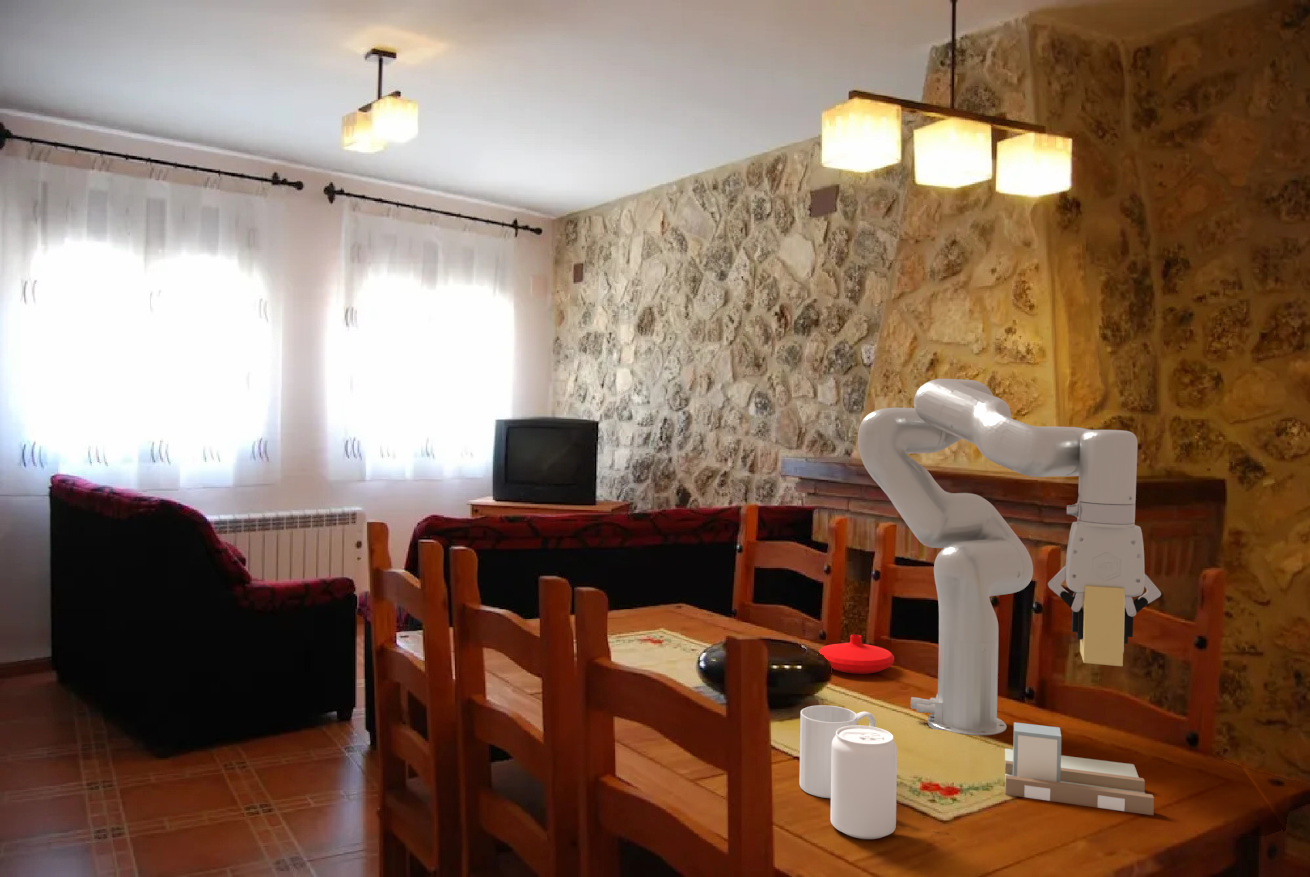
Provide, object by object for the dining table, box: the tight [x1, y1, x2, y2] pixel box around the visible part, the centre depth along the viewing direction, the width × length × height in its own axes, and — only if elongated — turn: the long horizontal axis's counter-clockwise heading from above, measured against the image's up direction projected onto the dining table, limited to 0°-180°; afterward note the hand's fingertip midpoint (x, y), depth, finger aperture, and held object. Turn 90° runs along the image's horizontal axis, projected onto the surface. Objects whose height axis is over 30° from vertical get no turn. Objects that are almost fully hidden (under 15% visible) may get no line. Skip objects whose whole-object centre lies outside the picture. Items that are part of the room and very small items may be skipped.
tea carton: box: [1079, 585, 1125, 667], centre depth 136 cm, size 7×5×11 cm
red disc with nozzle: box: [818, 634, 895, 675], centre depth 196 cm, size 16×16×7 cm
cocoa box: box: [1012, 721, 1062, 782], centre depth 131 cm, size 6×4×8 cm
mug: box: [798, 704, 877, 799], centre depth 133 cm, size 12×8×10 cm, turn 118°
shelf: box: [1004, 748, 1155, 816], centre depth 134 cm, size 18×19×3 cm
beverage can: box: [830, 724, 898, 840], centre depth 119 cm, size 8×8×12 cm
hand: (1101, 638), depth 137 cm, fingers closed on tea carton, 5 cm apart
